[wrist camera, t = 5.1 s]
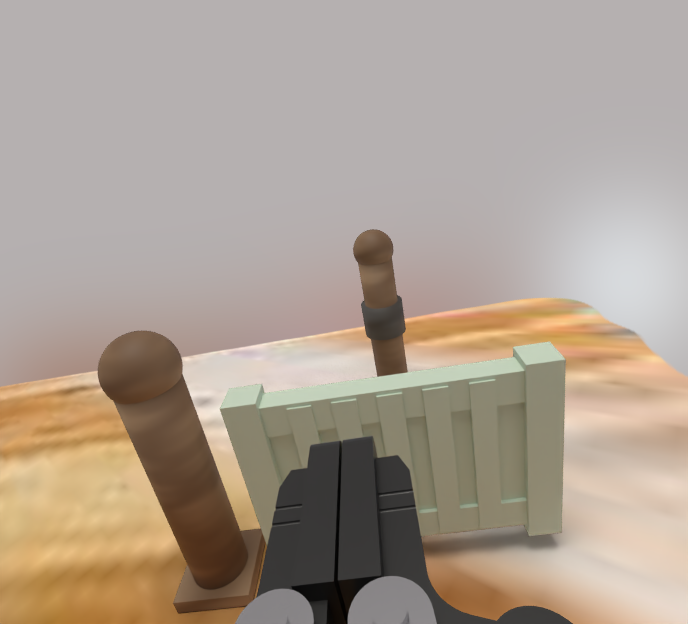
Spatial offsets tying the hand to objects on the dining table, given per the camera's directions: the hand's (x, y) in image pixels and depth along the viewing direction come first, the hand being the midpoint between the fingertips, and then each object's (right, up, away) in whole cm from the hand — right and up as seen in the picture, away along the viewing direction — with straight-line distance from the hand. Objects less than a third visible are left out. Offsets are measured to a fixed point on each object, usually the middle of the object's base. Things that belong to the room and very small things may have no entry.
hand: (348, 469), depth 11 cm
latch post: (+4, -4, +26) cm, 26 cm away
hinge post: (-7, -11, +14) cm, 19 cm away
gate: (+3, -8, +13) cm, 15 cm away
